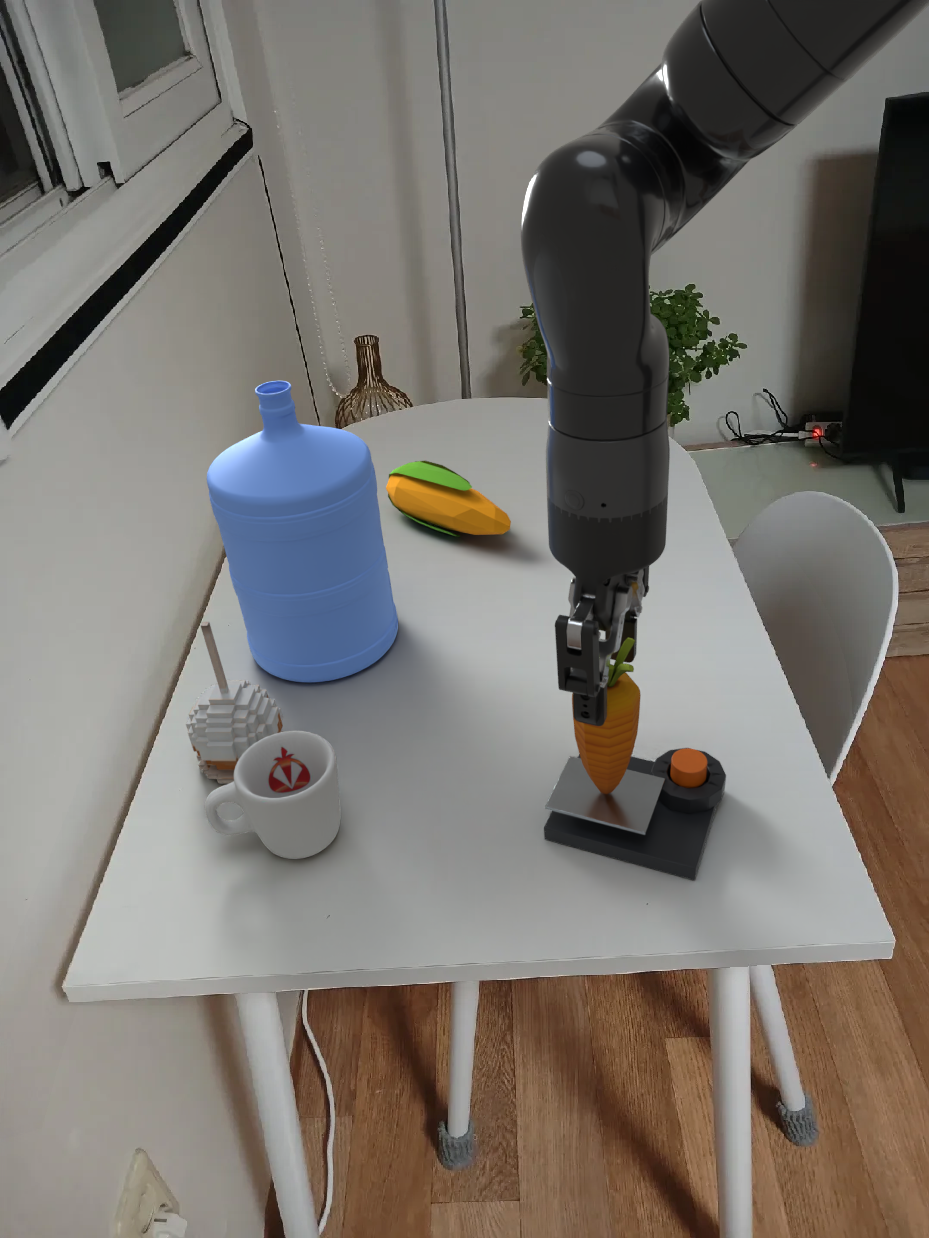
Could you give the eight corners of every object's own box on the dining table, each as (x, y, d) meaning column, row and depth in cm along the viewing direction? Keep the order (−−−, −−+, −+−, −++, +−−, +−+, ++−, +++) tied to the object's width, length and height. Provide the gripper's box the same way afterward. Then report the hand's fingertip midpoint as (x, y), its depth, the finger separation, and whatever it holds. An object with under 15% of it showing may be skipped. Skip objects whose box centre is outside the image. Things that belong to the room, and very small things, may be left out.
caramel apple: (295, 728, 89) (263, 596, 81) (274, 788, 83) (237, 652, 75) (216, 728, 90) (175, 597, 82) (189, 787, 84) (142, 653, 75)
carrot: (634, 768, 77) (637, 618, 68) (641, 815, 73) (646, 661, 64) (572, 771, 77) (568, 621, 69) (576, 817, 73) (572, 664, 65)
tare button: (709, 768, 77) (710, 752, 76) (701, 792, 75) (703, 776, 74) (675, 760, 78) (676, 744, 77) (666, 783, 76) (667, 767, 75)
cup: (223, 893, 74) (197, 822, 70) (217, 820, 81) (194, 751, 76) (358, 857, 76) (342, 786, 71) (342, 788, 82) (327, 719, 78)
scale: (728, 783, 79) (731, 757, 77) (699, 882, 71) (702, 855, 70) (586, 750, 84) (586, 724, 82) (544, 839, 76) (542, 813, 74)
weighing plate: (665, 780, 76) (665, 778, 76) (645, 835, 72) (645, 832, 71) (569, 758, 79) (569, 755, 79) (545, 808, 75) (544, 806, 74)
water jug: (368, 695, 92) (319, 428, 76) (225, 677, 97) (149, 420, 80) (419, 604, 104) (385, 357, 88) (289, 592, 109) (234, 353, 92)
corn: (408, 439, 121) (530, 480, 109) (418, 491, 126) (535, 535, 114) (366, 465, 117) (487, 510, 106) (378, 517, 122) (495, 566, 110)
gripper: (634, 551, 53) (629, 766, 62) (693, 441, 63) (681, 640, 73) (508, 532, 56) (522, 741, 65) (585, 430, 66) (587, 623, 76)
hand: (606, 687), depth 69 cm, fingers open, 7 cm apart
